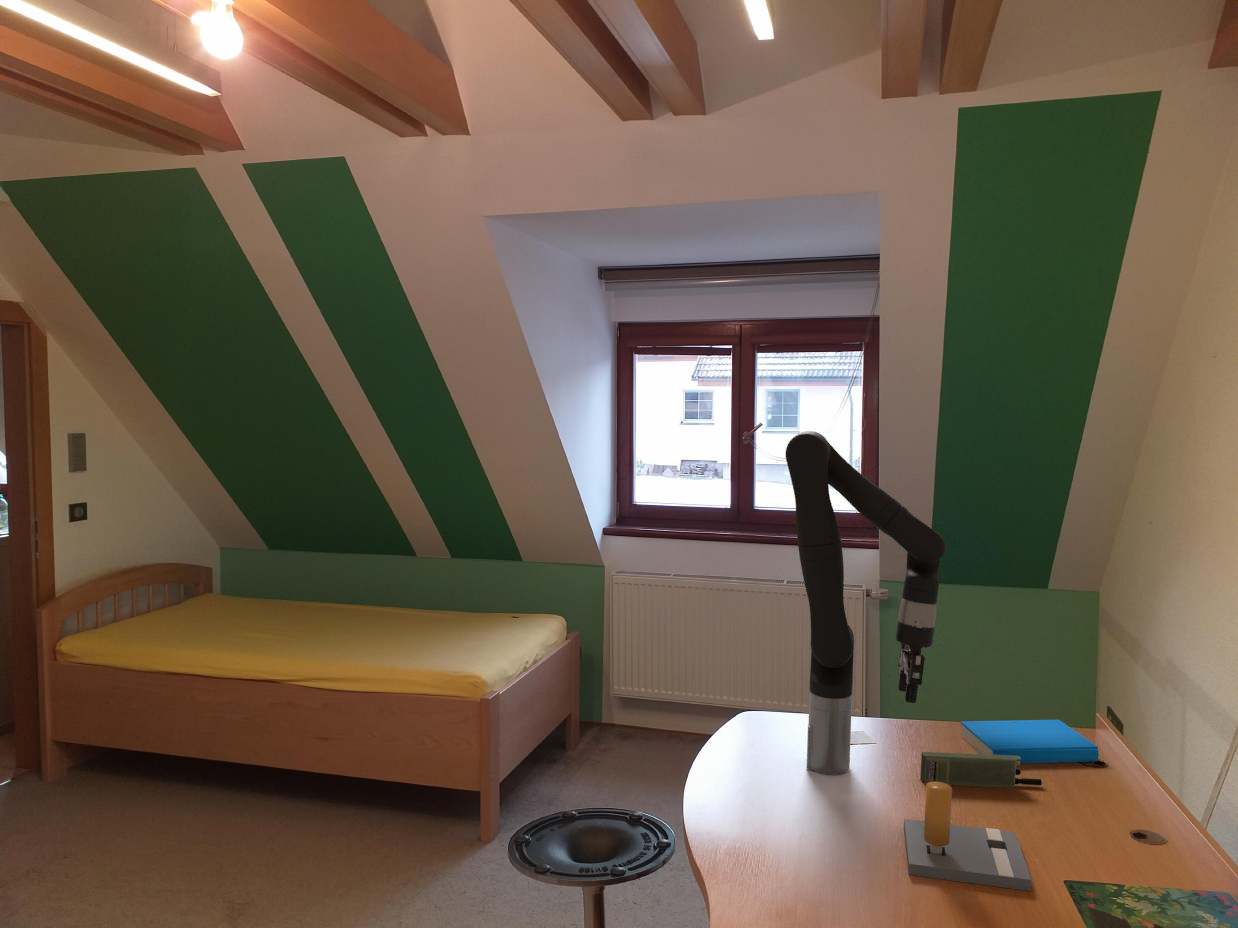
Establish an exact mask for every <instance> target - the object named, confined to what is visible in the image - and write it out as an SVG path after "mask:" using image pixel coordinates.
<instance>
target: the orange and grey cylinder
mask: <svg viewBox="0 0 1238 928" xmlns="http://www.w3.org/2000/svg"><path fill="white" fill-rule="evenodd" d="M925 784H926V785H925V802H924V803H925V804H924V821H925V822H924V840H925V841H926V842H927V843H929V844H930V854H933V855H941V856H942V846H946V845H948V844H949V842H950V824H951V818H952V817H951V815H952V796H953V795H952V794H953V788H952V785H948V784H945V783H942V782H929V783H925Z"/></svg>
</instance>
